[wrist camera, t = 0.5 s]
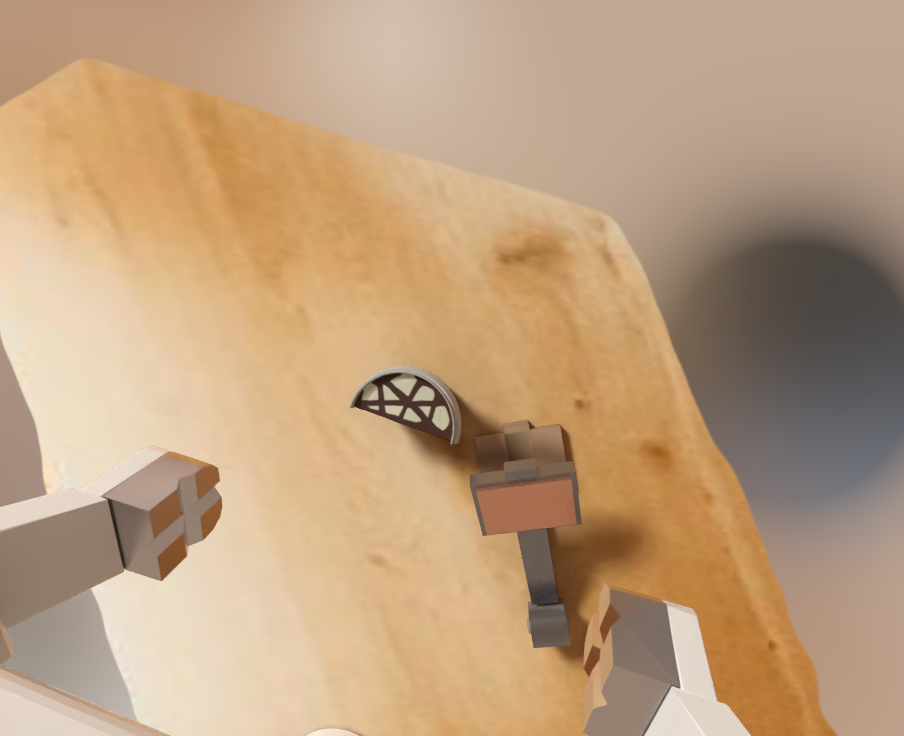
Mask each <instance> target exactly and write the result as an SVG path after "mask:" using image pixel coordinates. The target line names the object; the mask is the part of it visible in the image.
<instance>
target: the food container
mask: <svg viewBox="0 0 904 736" xmlns="http://www.w3.org/2000/svg"><path fill="white" fill-rule="evenodd" d="M354 407H357V408H359V409H362V410H366V411H369V412H371V413H374V414H377V415H379V416H382V417H385V418H388V419H390V420H393V421H395V422H398V423H400V424H403V425H406V426H409V427H412V428H415V429H418V430H421V431H424V432H427V433H430V434H432V435H435V436H438V437H441V438H444V439H447V440H450V441H451V445H452V444H457V443H459V439H460V435H461V425H462V424H461V414H460V410H459V406H458V403H457V401H456V398H455V397H454V395H453V393H452V392H451V390H450V389H449V387H448V386H447V385H446V384H445V383H444V382H443V381H442V380H441V379H440V378H439V377H437V376H436V375H434V374H433V373H431V372H429V371H427V370H424V369H422V368H418V367H414V366H406V365H402V366H393V367H389V368H386V369H383V370H381V371H378V372H377V373H375V374H374V375H372V376H371V377H369V378H368V379H367V380H366V381H365V382H364V383H363V384H362V385H361V386H360V388H359V389H358V390H357V391H356V393H355V395H354V396H353V398H352V400H351V402H350V405H349V408H354Z"/></svg>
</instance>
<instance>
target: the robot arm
mask: <svg viewBox="0 0 904 736" xmlns="http://www.w3.org/2000/svg"><path fill="white" fill-rule="evenodd" d="M219 481H220V478H219V472H218V468H217V467H215V466H213V465H211V464H208V463H205V462H202V461H199V460H196V459H193V458H190V457H187V456H184V455H181V454H178V453H175V452H171V451H168V450H165V449H162V448H159V447H156V446H150V447H145V448H143V449H142V450H140V451H138V452H137V453H135V454H134V455H132V456H131V457H129V458H128V459H126V460H125V461H123V462H121V463H120V464H118V465H117V466H115V467H114V468H112V469H111V470H109V471H108V472H106V473H104V474H103V475H101V476H100V477H98V478H97V479H95V480H94V481H92V482H91V483H89V484H87V485H86V486H84V487H83V488H81V489H80V490H79V489H75V488H70V489H67V490H63V491H59V492H56V493H52V494H48V495H44V496H41V497H37V498H33V499H29V500H26V501H22V502H19V503H15V504H11V505H7V506H3V507H0V736H170V735H168V734H165V733H163V732H160V731H158V730H156V729H153V728H151V727H149V726H146V725H144V724H142V723H139V722H137V721H134V720H132V719H129V718H127V717H125V716H123V715H120V714H118V713H115V712H113V711H110V710H108V709H106V708H104V707H101V706H99V705H97V704H94V703H91V702H89V701H87V700H85V699H82V698H80V697H78V696H75V695H73V694H70V693H68V692H66V691H63V690H61V689H59V688H56V687H54V686H51V685H49V684H47V683H44V682H42V681H40V680H37V679H35V678H32V677H30V676H28V675H25V674H23V673H21V672H18V671H16V670H14V669H11V668H9V667H6V666H4V665H2V664H3V663H4V662H5V661H7V660H8V659H9V658H10V657H11V656H12V652H13V645H12V643H11V641H10V638H9V635H8V633H7V631H6V629H7V628H9V627H11V626H13V625H16V624H18V623H20V622H22V621H24V620H26V619H28V618H30V617H32V616H34V615H36V614H38V613H40V612H42V611H44V610H46V609H48V608H51V607H52V606H55V605H57V604H59V603H61V602H63V601H65V600H67V599H69V598H71V597H73V596H75V595H77V594H79V593H81V592H83V591H85V590H87V589H89V588H92V587H94V586H96V585H98V584H100V583H102V582H104V581H106V580H108V579H110V578H112V577H114V576H116V575H118V574H120V573H122V572H124V569H125V570H128V571H131V572H135V573H138V574H141V575H144V576H147V577H150V578H153V579H156V580H159V581H162V580H163V579H164V578H165V577H166V576H167V575H168V574H169V573H170V572H171V571H172V570H173V569H174V568H175V567H176V566H177V565H178V564H179V563H180V562H181V561H182V560H184V559H185V558H186V557H187V552H188V546H190V545H192V544H195V543H197V542H200V541H202V540H204V539H205V538H206V537H207V535H208V534H209V533H210V532H211V531H212V530H213V529H214V527H215V525H216V523H217V521H218V520H219V518H220V514H221V510H222V498H221V496H220V494H219V493H218V491H217V490H216V488H215V486H216V484H217V483H218V482H219ZM584 670H585V671H586V673H587V675H588V677H589V680H588V682H587V685H586V687H585V690H584V692H583V733H586V734H588V735H591V736H751V735H750V733H749V732H748V731H747V730H746V728H745V727H744V726H743V724H742V723H741V722H740V720H739V719H738V718H737V717H736V715H735V714H734V713H733V711H732V710H731V709H730V707H729V706H728V705H726V704H724V703H721V702H718V700H717V696H716V692H715V688H714V684H713V680H712V676H711V672H710V667H709V663H708V659H707V655H706V651H705V647H704V643H703V639H702V634H701V630H700V626H699V622H698V618H697V614H696V613H695V611H694V610H693V609H692V608H688V607H685V606H681V605H678V604H675V603H671V602H668V601H664V600H663V601H662V600H660V599H657V598H654V597H651V596H647V595H644V594H640V593H637V592H633V591H630V590H627V589H623V588H620V587H616V586H613V585H609V584H606V585H605V586H604V587H603V589H602V591H601V594H600V596H599V611H598V612H596V613H594V614H592V617H591V620H590V623H589V626H588V630H587V634H586V639H585V647H584ZM307 736H359V735H357V734H355V733H352V732H350V731H346V730H342V729H322V730H318V731H315V732H312V733H310V734H308V735H307Z"/></svg>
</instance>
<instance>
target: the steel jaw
mask: <svg viewBox="0 0 904 736" xmlns="http://www.w3.org/2000/svg"><path fill="white" fill-rule="evenodd" d="M470 488H471V491H472V495H473V499H474V503H475V507H476V511H477V515H478V518H479V522H480V526H481V530H482V534H483V536H486V535H494V534H503V533H511V532H517V535H518V540H519V544H520V549H521V554H522V559H523V563H524V568H525V573H526V578H527V583H528V587H529V592H530V597H531V602H532V605H535V604H545V603H555V602H559V601H558V595H557V589H556V583H555V577H554V571H553V565H552V559H551V553H550V547H549V541H548V535H547V529H546V528H553V527H561V526H570V525H578V524H581V515H580V506H579V498H578V489H577V480H576V471H575V468H574V464H573V461H568V462H561V463H553V464H546V465H539V466H536V463H535V458H531V459H524V460H517V461H509V462H504V470H502V471H495V472H488V473H480V474H473V475H470Z"/></svg>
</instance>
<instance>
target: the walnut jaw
mask: <svg viewBox="0 0 904 736" xmlns="http://www.w3.org/2000/svg"><path fill="white" fill-rule="evenodd" d="M503 430H504V432H502V433H495V434H488V435H481V436H476V437H475V443H476V449H477V455H478V461H479V467H480V473H488V472H495V471H502V470H504V462H509V461H517V460H524V459H531V458H535V463H536V466H539V465H546V464H553V463H561V462H566V458H565V452H564V446H563V440H562V434H561V428H560V425H559V424H556V425H549V426H542V427H536V428H529V423H528V420H526V421H519V422H512V423H506V424H503ZM558 601H559V602H555V603H545V604H535V605H532V602H528V608H529V619H527V623H528V630H529V633H531V635H532V641H533V647H534V648H541V647H553V646H565V645H571V644H570V638H569V632H568V630H570V629H571V628H570V622H569V617H568V615H565V609H564V604H563V599H558Z"/></svg>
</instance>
